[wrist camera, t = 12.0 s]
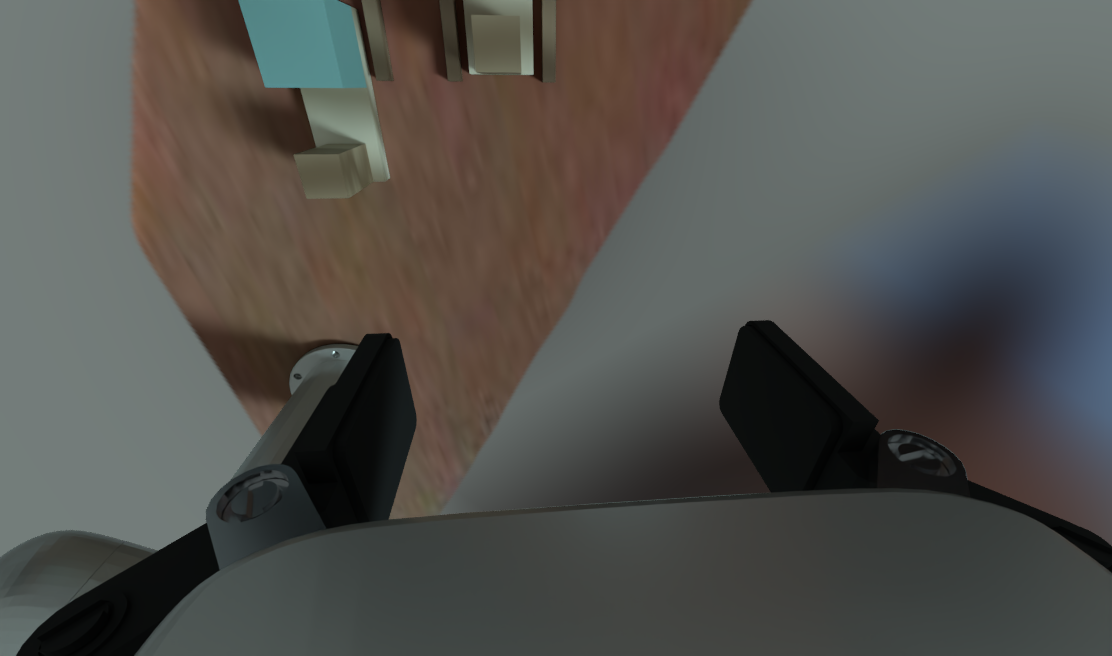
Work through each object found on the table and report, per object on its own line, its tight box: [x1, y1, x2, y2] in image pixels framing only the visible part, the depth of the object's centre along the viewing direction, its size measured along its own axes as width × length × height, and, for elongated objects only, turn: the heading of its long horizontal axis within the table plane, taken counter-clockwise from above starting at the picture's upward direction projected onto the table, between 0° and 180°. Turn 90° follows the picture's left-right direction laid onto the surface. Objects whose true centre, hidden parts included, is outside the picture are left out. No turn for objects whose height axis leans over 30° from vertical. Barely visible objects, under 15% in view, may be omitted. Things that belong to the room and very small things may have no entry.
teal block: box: [238, 0, 367, 88], centre depth 28 cm, size 5×5×5 cm
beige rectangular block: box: [463, 0, 534, 75], centre depth 29 cm, size 5×5×8 cm
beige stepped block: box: [293, 7, 390, 199], centre depth 30 cm, size 12×5×8 cm, turn 179°
